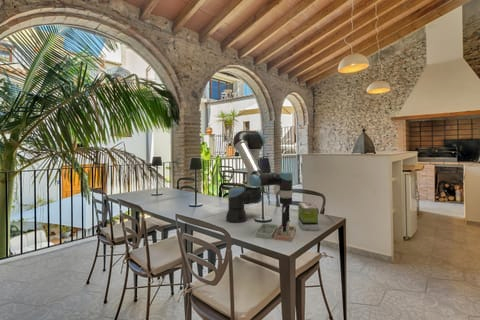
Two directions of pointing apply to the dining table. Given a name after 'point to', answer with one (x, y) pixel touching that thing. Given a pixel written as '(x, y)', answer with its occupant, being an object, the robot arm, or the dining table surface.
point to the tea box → (308, 216)
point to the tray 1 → (265, 233)
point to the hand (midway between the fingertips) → (285, 234)
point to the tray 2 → (287, 238)
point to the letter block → (287, 228)
